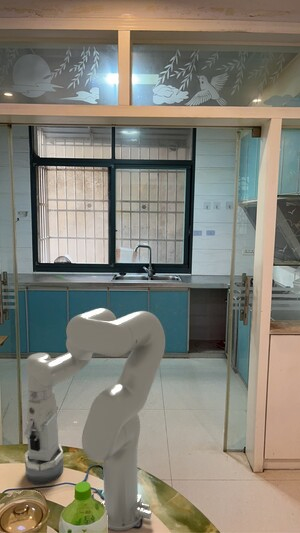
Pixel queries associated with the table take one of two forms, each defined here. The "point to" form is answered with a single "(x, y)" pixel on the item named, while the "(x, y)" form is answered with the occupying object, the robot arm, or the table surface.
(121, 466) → the robot arm
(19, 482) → the table surface
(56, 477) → the bowl
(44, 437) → the supplement box
